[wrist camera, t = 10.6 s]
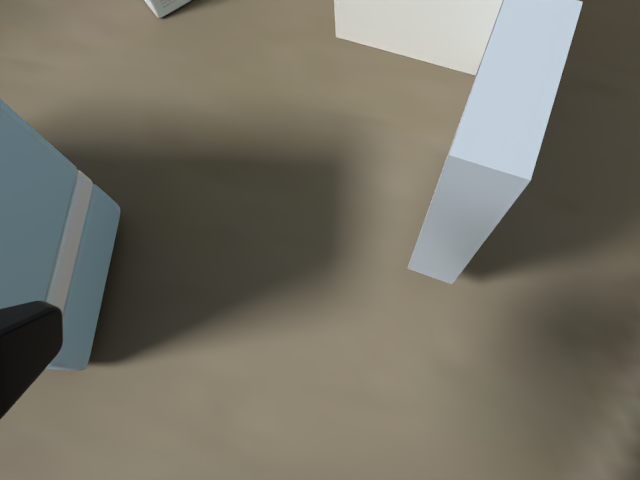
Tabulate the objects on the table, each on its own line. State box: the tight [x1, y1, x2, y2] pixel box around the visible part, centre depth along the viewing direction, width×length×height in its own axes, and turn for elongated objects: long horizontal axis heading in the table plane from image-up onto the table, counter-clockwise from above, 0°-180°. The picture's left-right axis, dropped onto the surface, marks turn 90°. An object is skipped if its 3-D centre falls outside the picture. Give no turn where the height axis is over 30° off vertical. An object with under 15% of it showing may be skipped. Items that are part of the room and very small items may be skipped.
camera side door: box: [407, 0, 583, 284], centre depth 19 cm, size 14×2×11 cm, turn 158°
